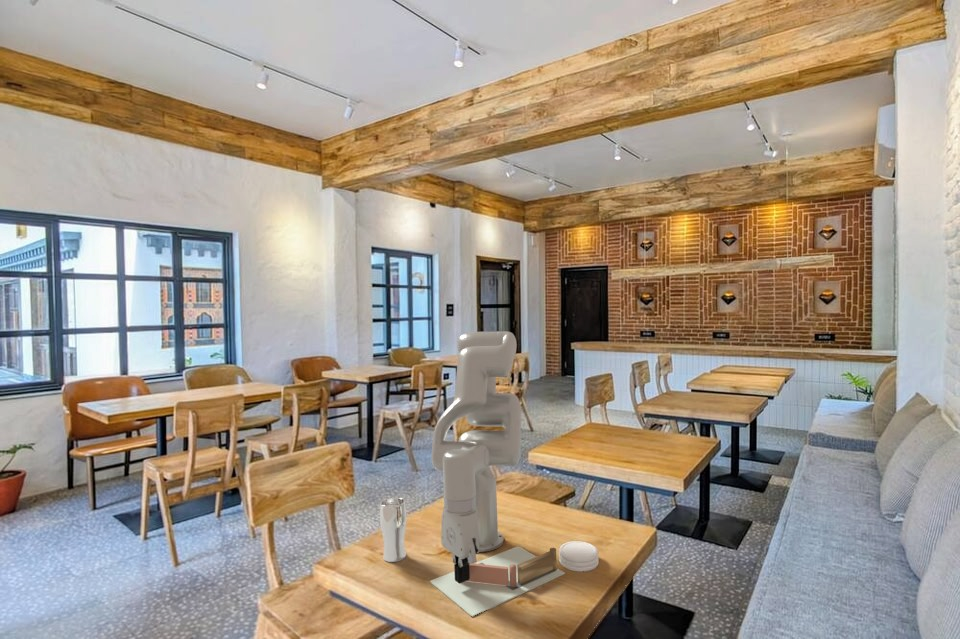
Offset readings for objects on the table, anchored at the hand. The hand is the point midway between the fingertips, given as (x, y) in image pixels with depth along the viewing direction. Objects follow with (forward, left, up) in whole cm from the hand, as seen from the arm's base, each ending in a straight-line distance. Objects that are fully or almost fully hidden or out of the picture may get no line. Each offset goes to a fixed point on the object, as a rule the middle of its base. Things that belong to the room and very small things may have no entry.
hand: (462, 580), depth 123 cm
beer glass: (-25, -5, -3) cm, 25 cm away
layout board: (+1, +10, -2) cm, 10 cm away
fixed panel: (+7, +17, -2) cm, 19 cm away
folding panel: (+2, +6, -2) cm, 6 cm away
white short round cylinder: (+8, +31, -3) cm, 32 cm away
